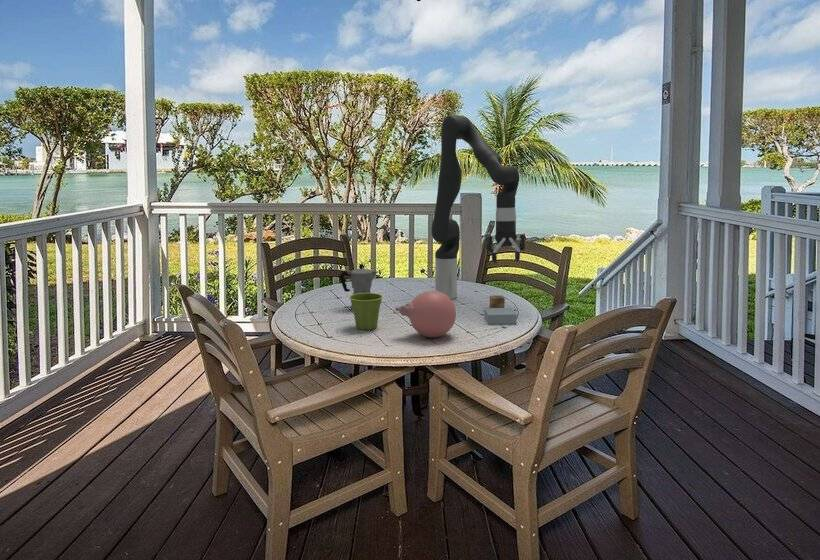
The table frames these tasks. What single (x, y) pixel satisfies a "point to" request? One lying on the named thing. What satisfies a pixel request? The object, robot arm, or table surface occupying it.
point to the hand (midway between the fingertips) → (505, 262)
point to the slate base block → (500, 316)
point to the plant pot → (366, 309)
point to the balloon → (430, 313)
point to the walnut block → (497, 301)
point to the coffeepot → (358, 280)
